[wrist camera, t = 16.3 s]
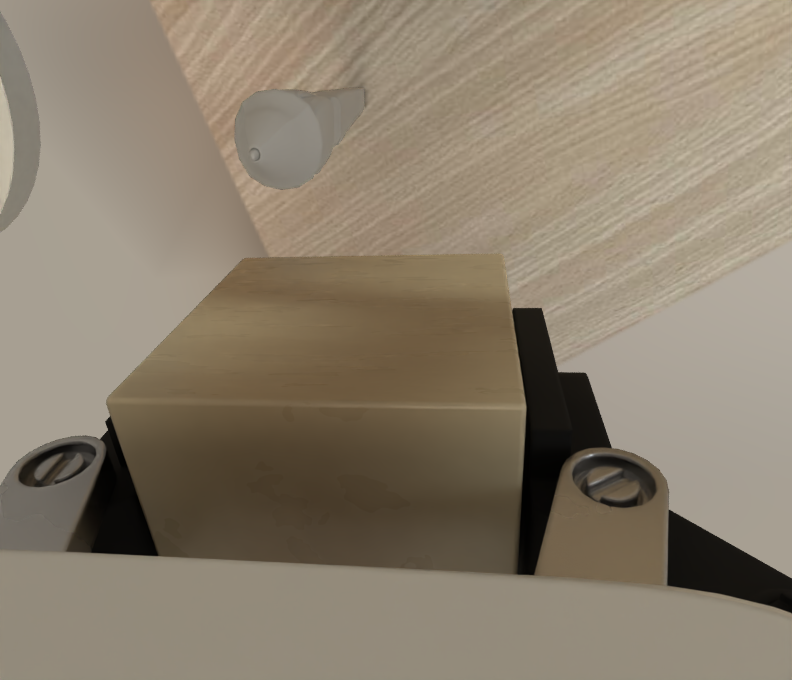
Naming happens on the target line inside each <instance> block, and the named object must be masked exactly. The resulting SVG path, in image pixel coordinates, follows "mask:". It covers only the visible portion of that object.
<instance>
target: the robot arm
mask: <svg viewBox="0 0 792 680" xmlns="http://www.w3.org/2000/svg"><path fill="white" fill-rule="evenodd" d="M512 314H513V320H514V327H515V334H516V340H517V347H518V354H519V360H520V367H521V373H522V380H523V387H524V393H525V400H526V407H527V409H526V428H525V446H524V464H523V482H522V500H521V518H520V537H519V555H518V573H517V575H514V574H496V573H478V572H460V571H441V570H423V569H405V568H386V567H366V566H345V565H325V564H304V563H284V562H263V561H243V560H222V559H202V558H182V557H162V556H158V554H157V551H156V548H155V545H154V542H153V539H152V536H151V533H150V530H149V527H148V524H147V522H146V519H145V516H144V513H143V510H142V507H141V504H140V501H139V498H138V495H137V492H136V489H135V486H134V484H133V481H132V478H131V475H130V472H129V469H128V466H127V463H126V460H125V457H124V454H123V451H122V448H121V445H120V443H119V440H118V437H117V434H116V431H115V428H114V425H113V422H112V419H111V416H110V417H109V418H108V419H107V421H105V422H106V425H107V428H108V431H107V432H106V433H105V434H104V435H103V436H102V438H101V439H98V438H96V437H91V436H71V437H67V438H62V439H58V440H55V441H52V442H50V443H47V444H44V445H42V446H40V447H38V448H37V449H34V450H33V451H31V452H29V453H28V454H26V455H25V456H24V457H22V458H21V459H20V460H18V461H17V462H16V464H15V465H14V466H13V467H12V468H11V470H10V471H9V473H8V474H7V476H6V477H5V479H4V481H3V482H2V484H1V486H0V680H792V578H790V577H788V576H786V575H785V574H783V573H781V572H779V571H777V570H776V569H774V568H772V567H770V566H768V565H767V564H765V563H763V562H761V561H760V560H758V559H756V558H754V557H752V556H751V555H749V554H747V553H745V552H744V551H742V550H740V549H738V548H736V547H735V546H733V545H731V544H729V543H728V542H726V541H724V540H722V539H720V538H719V537H717V536H715V535H713V534H711V533H709V532H708V531H706V530H704V529H702V528H701V527H699V526H697V525H696V524H694V523H692V522H690V521H688V520H687V519H685V518H683V517H681V516H679V515H678V514H676V513H674V512H672V511H671V510H669V489H668V484H667V480H666V479H665V477H664V476H663V474H662V473H661V472H660V470H659V469H658V468H656V467H655V466H654V465H653V464H651V463H650V462H649V461H648V460H646V459H644V458H642V457H640V456H638V455H636V454H634V453H630V452H627V451H623V450H620V449H613V448H612V447H611V444H610V441H609V439H608V435H607V433H606V429H605V427H604V423H603V421H602V418H601V415H600V412H599V409H598V406H597V403H596V400H595V397H594V394H593V391H592V388H591V385H590V382H589V379H588V377H587V374H586V373H564V372H558V370H557V366H556V362H555V358H554V354H553V350H552V347H551V343H550V339H549V335H548V331H547V327H546V323H545V319H544V315H543V311H542V308H513V310H512Z"/></svg>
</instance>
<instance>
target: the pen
mask: <svg viewBox="0 0 792 680" xmlns="http://www.w3.org/2000/svg"><path fill="white" fill-rule="evenodd" d="M364 93H365V90H364V89H363V88H343V89H336V90H326V91H318V92H313V93H311V92H307V91H302V90H289V89H282V90H278V89H271V90H264V91H258V92H255V93H254V94H253V95H251V96H250V97H248V98H247V99H246V100H244V101H243V102H242V104H241V107H240V109H239V111H238V114H237V116H236V119H235V143H236V147H237V151H238V155H239V160H240V161H241V163H242V164H243V166H244V168H245V169H246V171H247V173H248V174H249V176H250V177H252V178H253V179H255V180H256V181H258V182H259V183H261V184H262V185H264V186H267V187H271V188H276V189H280V190H284V189H291V188H298V187H300V186H302V185H303V184H305V183H306V182H308V181H309V180H311V179H313V177H314V175H315V174H318V173H319V172H320V171H321V169H322V168H323V166H324V165H325V163H326V162H327V160H328V159H329V157H330V155H331V152H332V150H333V147H335V146H336V145H338V144H339V143H340V142H341V141H342V139H343V138H344V136H345V134H346V132H347V131H348V130H349V128H350V127H351V126H352V124H353V123H354V121H355V120H356V119H357V118H358V117H359V116H360V114H361V113H362V112H363V110H364Z"/></svg>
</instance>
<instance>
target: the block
mask: <svg viewBox="0 0 792 680" xmlns="http://www.w3.org/2000/svg"><path fill="white" fill-rule="evenodd" d="M106 405H107V407H108V410H109V413H110V416H111V419H112V422H113V425H114V428H115V431H116V434H117V437H118V440H119V443H120V445H121V448H122V451H123V454H124V457H125V460H126V463H127V466H128V469H129V472H130V475H131V478H132V481H133V484H134V486H135V489H136V492H137V495H138V498H139V501H140V504H141V507H142V510H143V513H144V516H145V519H146V522H147V524H148V527H149V530H150V533H151V536H152V539H153V542H154V545H155V548H156V551H157V554H158V556H162V557H182V558H202V559H222V560H243V561H263V562H284V563H304V564H325V565H345V566H366V567H386V568H405V569H423V570H441V571H460V572H478V573H496V574H514V575H517V573H518V555H519V537H520V518H521V500H522V482H523V464H524V446H525V428H526V409H527V407H526V400H525V393H524V387H523V380H522V373H521V367H520V360H519V354H518V347H517V340H516V334H515V327H514V320H513V314H512V307H511V300H510V294H509V287H508V280H507V274H506V267H505V260H504V256H503V255H502V254H446V255H388V256H330V257H272V258H244V259H243V260H242V261H241V262H240V263H239V264H238V265H237V266H236V267H235V268H234V269H233V270H232V271H231V272H230V273H229V274H228V275H227V276H226V277H225V278H224V279H223V280H222V281H221V282H220V283H219V284H218V285H217V286H216V287H215V288H214V289H213V290H212V291H211V292H210V293H209V295H207V296H206V297H205V298H204V299H203V300H202V301H201V302H200V303H199V304H198V306H196V308H195V309H194V310H193V311H192V312H191V313H190V314H189V315H188V316H187V317H186V318H185V319H184V320H183V321H182V322H181V323H180V324H179V325H178V326H177V327H176V328H175V329H174V330H173V331H172V332H171V333H170V334H169V335H168V336H167V337H166V338H165V339H164V340H163V341H162V342H161V343H160V345H158V346H157V347H156V348H155V349H154V350H153V352H152V353H151V354H150V355H149V356H148V357H147V358H146V359H145V360H144V361H143V362H142V363H141V364H140V365H139V366H138V367H137V368H136V369H135V370H134V371H133V372H132V373H131V374H130V375H129V376H128V377H127V378H126V379H125V380H124V381H123V382H122V383H121V384H120V385H119V386H118V387H117V388H116V389H115V390H114V391H113V392H112V393H111V394H110V395H109V397H108V398H107V400H106Z"/></svg>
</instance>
